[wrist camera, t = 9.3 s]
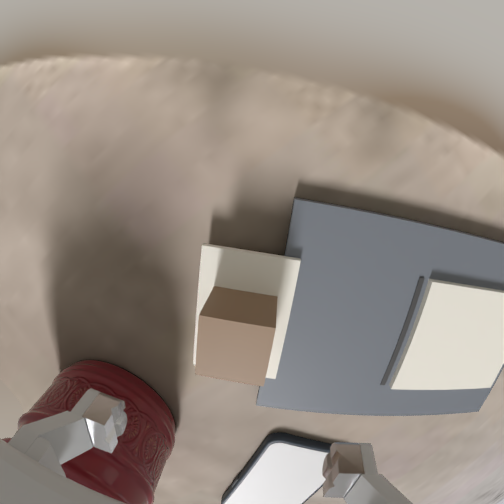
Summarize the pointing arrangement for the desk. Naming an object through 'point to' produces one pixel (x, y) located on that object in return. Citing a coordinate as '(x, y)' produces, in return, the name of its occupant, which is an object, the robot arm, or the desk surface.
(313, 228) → the board
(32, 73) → the desk surface
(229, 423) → the desk surface
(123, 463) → the canister
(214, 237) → the desk surface
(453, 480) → the desk surface
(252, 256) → the tan cube with base
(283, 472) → the smartphone
